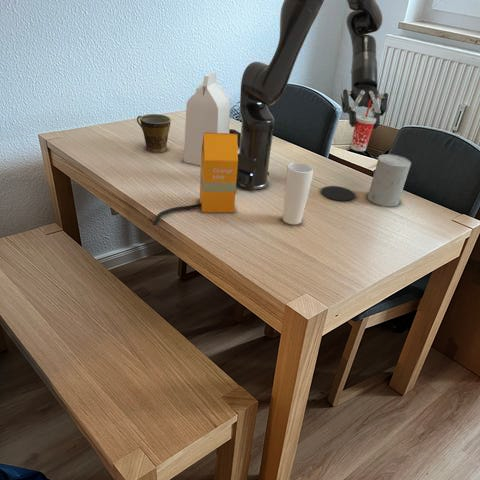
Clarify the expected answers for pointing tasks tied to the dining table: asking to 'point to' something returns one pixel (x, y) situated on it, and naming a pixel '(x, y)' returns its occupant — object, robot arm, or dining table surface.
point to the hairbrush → (237, 135)
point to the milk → (205, 116)
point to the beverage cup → (362, 131)
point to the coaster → (337, 193)
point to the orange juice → (218, 172)
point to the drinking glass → (296, 191)
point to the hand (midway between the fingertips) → (364, 126)
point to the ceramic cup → (155, 131)
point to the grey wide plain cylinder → (389, 180)
